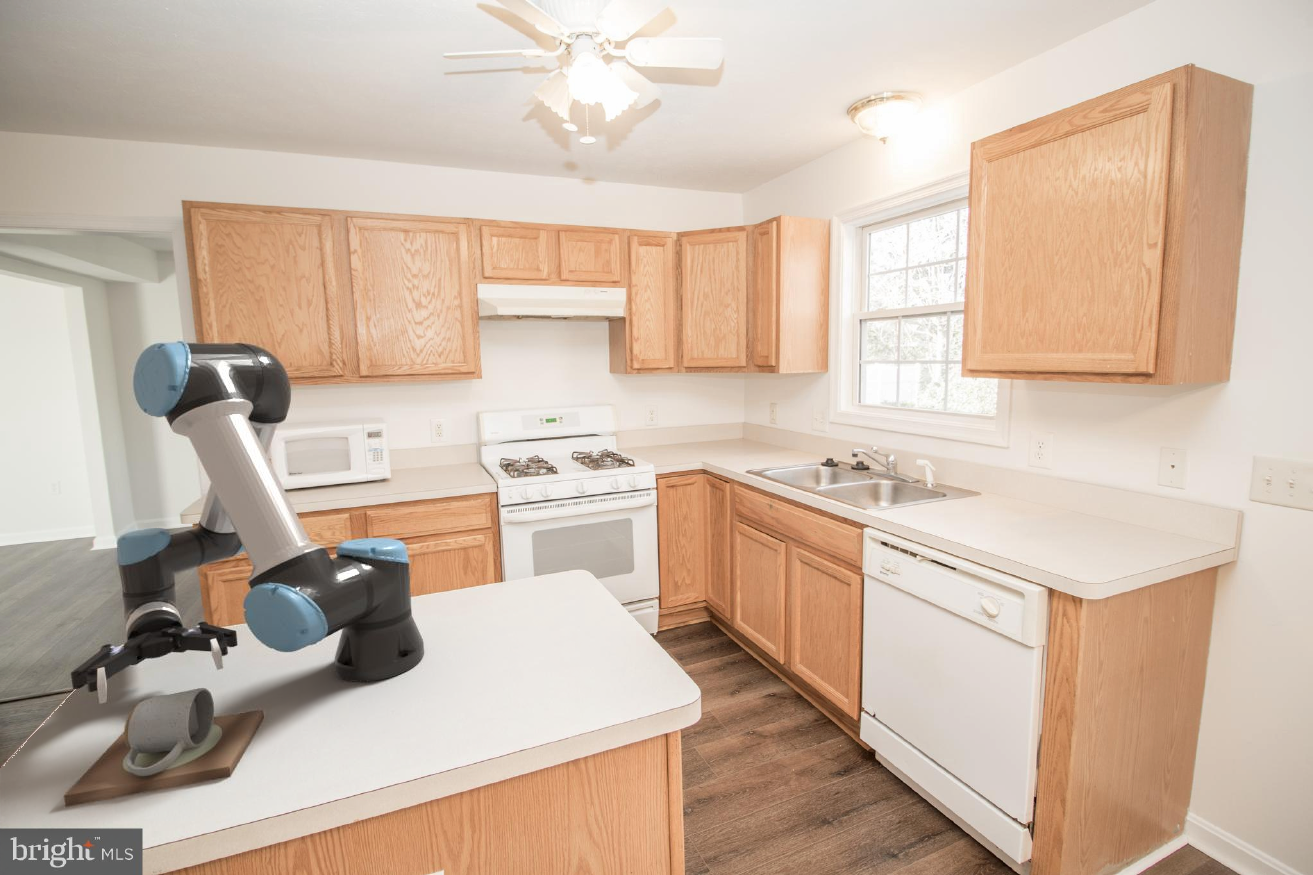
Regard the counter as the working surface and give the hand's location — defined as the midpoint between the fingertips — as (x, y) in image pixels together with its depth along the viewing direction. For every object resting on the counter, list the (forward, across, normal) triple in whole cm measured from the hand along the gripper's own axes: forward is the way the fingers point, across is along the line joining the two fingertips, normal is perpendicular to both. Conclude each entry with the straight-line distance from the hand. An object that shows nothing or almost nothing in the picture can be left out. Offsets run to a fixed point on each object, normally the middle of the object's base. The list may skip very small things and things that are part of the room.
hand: (163, 676), depth 90 cm
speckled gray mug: (+9, 0, -8) cm, 12 cm away
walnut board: (+8, 0, -9) cm, 12 cm away
